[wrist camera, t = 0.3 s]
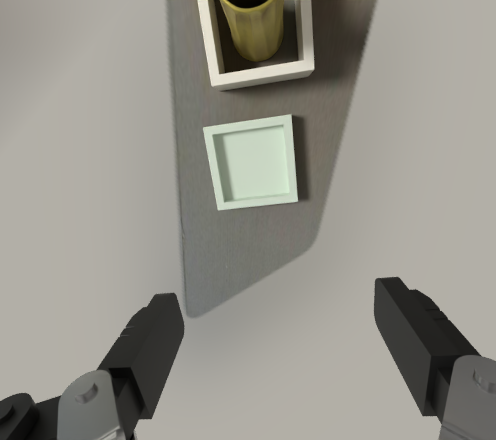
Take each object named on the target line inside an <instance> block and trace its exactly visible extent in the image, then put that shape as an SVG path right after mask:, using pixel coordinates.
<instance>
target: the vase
mask: <svg viewBox="0 0 496 440" xmlns="http://www.w3.org/2000/svg"><path fill="white" fill-rule="evenodd" d="M220 2H221V5H222V7H223V10H224V13H225V15H226V18H227V20H228V24H229V27H230V29H231V36H232V41H233V44H234V47H235V48H236V50H237V51H238V52H239V54H240V55H241V56H243V57H244V58H246V59H247V60H250V61H255V62H258V61H263V60H266V59H268V58H270V57H271V56H272V55H274V54H275V53H276V51H277V50H278V49H279V47H280V45H281V42H282V39H283V35H284V27H283V7H284V0H220Z"/></svg>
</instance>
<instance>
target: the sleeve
mask: <svg viewBox="0 0 496 440" xmlns="http://www.w3.org/2000/svg"><path fill="white" fill-rule="evenodd" d="M198 6H199V12H200V19H201V25H202V31H203V37H204V43H205V49H206V55H207V61H208V67H209V73H210V79H211V85H212V87H214V88H215V89H217V90H219V91H223V90H229V89H236V88H242V87H248V86H254V85H260V84H266V83H273V82H279V81H285V80H291V79H297V78H303V77H308V76H309V75H310V74H311V73H312V72H313V70H314V51H313V30H312V8H311V0H295V14H296V29H297V45H298V60H299V61H296V62H290V63H284V64H278V65H272V66H266V67H260V68H255V69H249V70H243V71H237V72H231V73H225V70H224V63H223V57H222V50H221V43H220V36H219V29H218V23H217V16H216V9H215V2H214V0H198Z"/></svg>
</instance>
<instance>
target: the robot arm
mask: <svg viewBox="0 0 496 440" xmlns="http://www.w3.org/2000/svg"><path fill="white" fill-rule="evenodd" d="M374 316H375V321H376V325H377V327H378V329H379V331H380V333H381V335H382V337H383V339H384V341H385V343H386V345H387V347H388V349H389V351H390V353H391V355H392V357H393V359H394V361H395V363H396V365H397V366H398V369H399V370H400V373H401V374H402V376H403V378H404V380H405V382H406V384H407V386H408V388H409V390H410V392H411V394H412V396H413V398H414V400H415V402H416V404H417V406H418V408H419V410H420V412H421V414H422V416H437V417H438V419H439V421H440V422H441V424H442V426H441V430H440V435H439V440H496V361H494V360H492V359H489V358H486V357H482V356H481V355H480V354H479V353H478V352H477V351H476V349H474V347H473V346H472V345H471V344H470V343H469V341H468V340H467V339H466V338H465V337H464V336H463V335H462V334H461V332H460V331H459V330H458V329H457V328H456V327H455V326H454V324H453V323H452V322H451V321H450V320H448V318H447V317H446V315H445V314H444V313H443V312H442V311H440V309H439V307H438V306H437V305H436V304H435V303H434V302H433V301H432V299H430V298H429V297H428V296H426V295H424V294H423V293H421V292H420V291H418V290H416V289H415V290H409V289H408V288H407V286H406V285H405V284H404V283H403V282H402V280H401V279H400V278H399V277H389V278H377V279H376V280H375V296H374ZM183 335H184V321H183V317H182V314H181V310H180V307H179V303H178V300H177V296H176V294H175V293H164V294H156V295H154V297H153V298H152V300H151V301H150V303H149V305H148V306H147V307H143V308H142V309H141V310H139V311H138V312H137V313H136V314H135V315H134V316H133V317H132V318H131V320H130V321H129V322H128V324H127V325H126V329H124V330H123V331H122V333H121V334H120V337H118V339H117V340H116V342H115V343H114V345H113V346H112V348H111V349H110V351H109V352H108V354H107V355H106V356H105V358H104V359H103V361H102V362H101V364H100V365H99V367H98V369H97V370H95V371H91V372H88V373H86V374H84V375H82V376H81V377H79V378H78V379H76V380H75V381H74V382H73V383H71V384H70V385H69V386H68V387H67V389H66V390H65V391H64V393H63V394H62V395H61V396H58V397H55V398H52V399H49V400H46V401H43V402H40V403H36V404H35V402H34V401H33V399H32V398H31V396H30V395H29V394H27V393H19V394H15V395H12V396H10V397H7V398H5V399H4V400H2V401H0V440H137V436H136V433H135V431H134V429H135V427H136V424H137V422H138V420H139V419H152V417H153V414H154V412H155V409H156V406H157V404H158V401H159V398H160V396H161V393H162V391H163V388H164V386H165V383H166V380H167V378H168V375H169V373H170V370H171V367H172V365H173V362H174V359H175V357H176V354H177V352H178V349H179V346H180V344H181V341H182V339H183Z"/></svg>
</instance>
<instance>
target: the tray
mask: <svg viewBox="0 0 496 440" xmlns="http://www.w3.org/2000/svg"><path fill="white" fill-rule="evenodd" d="M203 131H204V136H205V142H206V147H207V152H208V158H209V163H210V169H211V174H212V180H213V185H214V191H215V196H216V202H217V207H218V210H226V209H235V208H244V207H253V206H262V205H271V204H281V203H290V202H298V196H297V183H296V170H295V157H294V144H293V131H292V118H291V115H284V116H277V117H270V118H264V119H257V120H250V121H243V122H237V123H230V124H223V125H216V126H209V127H203Z"/></svg>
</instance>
